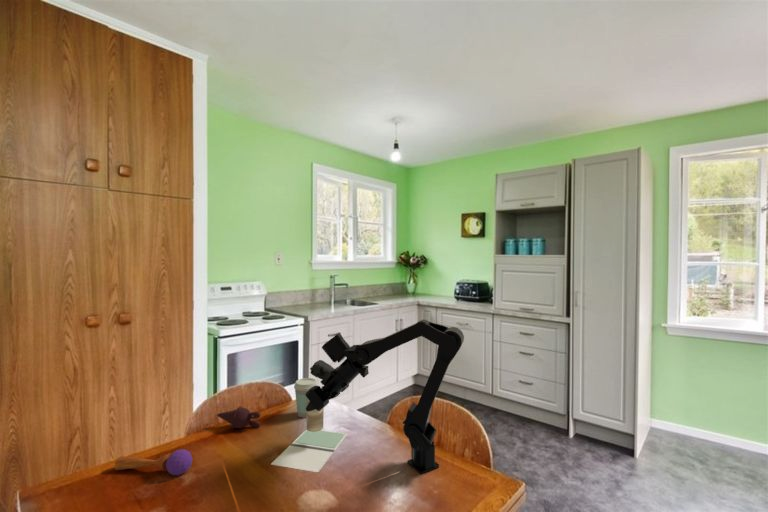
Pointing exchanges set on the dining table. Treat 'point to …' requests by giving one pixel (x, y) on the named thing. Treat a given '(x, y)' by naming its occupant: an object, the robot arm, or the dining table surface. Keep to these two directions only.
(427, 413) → the robot arm
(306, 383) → the coffee cup
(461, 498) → the dining table surface
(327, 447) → the board
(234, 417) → the icecream
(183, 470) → the kendama
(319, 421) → the wooden pin
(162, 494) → the dining table surface
